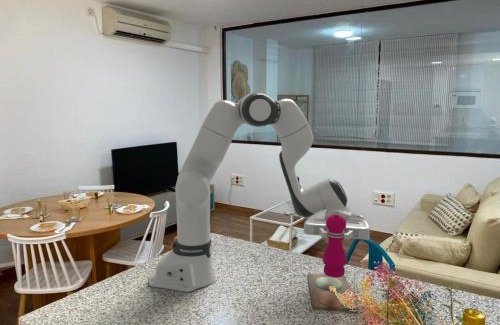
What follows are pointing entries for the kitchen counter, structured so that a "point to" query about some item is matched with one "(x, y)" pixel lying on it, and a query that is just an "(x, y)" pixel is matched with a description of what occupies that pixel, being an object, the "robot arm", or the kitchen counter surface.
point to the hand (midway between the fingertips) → (335, 237)
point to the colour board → (327, 292)
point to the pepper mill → (335, 246)
